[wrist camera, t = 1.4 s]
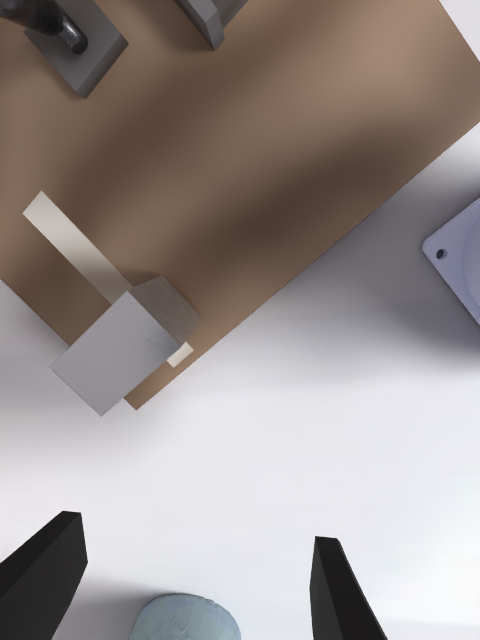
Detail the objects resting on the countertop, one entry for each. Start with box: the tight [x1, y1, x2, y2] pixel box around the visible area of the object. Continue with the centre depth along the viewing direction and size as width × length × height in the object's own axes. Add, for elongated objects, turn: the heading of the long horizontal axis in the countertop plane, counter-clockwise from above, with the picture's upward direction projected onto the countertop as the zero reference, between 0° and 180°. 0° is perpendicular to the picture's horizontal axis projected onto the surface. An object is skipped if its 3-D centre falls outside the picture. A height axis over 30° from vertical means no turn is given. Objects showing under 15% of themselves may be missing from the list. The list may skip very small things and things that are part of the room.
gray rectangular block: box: [49, 275, 203, 416], centre depth 15 cm, size 3×5×4 cm, turn 132°
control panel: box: [0, 0, 480, 410], centre depth 15 cm, size 18×23×4 cm
